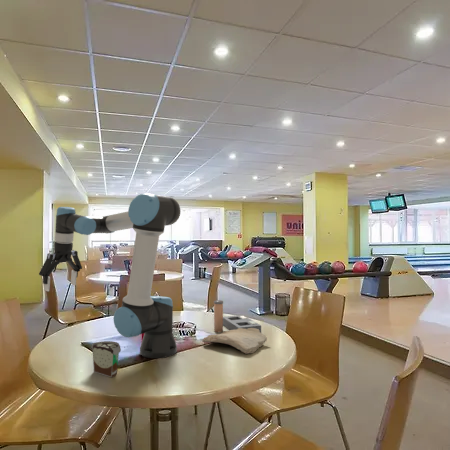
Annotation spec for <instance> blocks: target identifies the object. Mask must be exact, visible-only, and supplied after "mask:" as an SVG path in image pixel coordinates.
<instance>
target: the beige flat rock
mask: <svg viewBox="0 0 450 450" xmlns="http://www.w3.org/2000/svg"><path fill="white" fill-rule="evenodd" d="M267 340H268V338H267V336H266V335H265V334H263V333H262V332H261V333H260V331H259V329H255V328H248V329H243V328H238V329H236V330H229V329H228V330H225V331H224V330H223V331H222V332H220V333H218V334H209V335H208V336H206V337H204V338H203V339H202V340H201V341H202V343H220V344H225V345H229V346H231V347H233V348H235V349H237V350H239V351H241V353H244V354H253V353H255V352H256V351H257V350H258V349H259V347H260V348H261V347H262V346H263V345H264V344H265V343H266V342H267Z"/></svg>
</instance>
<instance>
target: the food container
mask: <svg viewBox="0 0 450 450" xmlns="http://www.w3.org/2000/svg"><path fill="white" fill-rule="evenodd" d="M91 350H92V360H93V361H92V362H93V373H96V374H99V375H102V376H106V377H108V378H109V377H110V378H114V377H115V376H116V375H117V373H118V367H119V366H118V365H119V353H121V351H122V349H121V345H120V343H119V342H117V341H111V340H110V341H109V340H104V341H95V342H93V343H92V345H91Z"/></svg>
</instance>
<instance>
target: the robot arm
mask: <svg viewBox="0 0 450 450" xmlns="http://www.w3.org/2000/svg"><path fill="white" fill-rule="evenodd" d="M180 215H181V206H180V204H179V202H178V201H177V200H176V199H174V198H173V197H171V196H167V195H166V196H165V195H161V194H160V195H157V194H153V193H141V194H138V195H136V196H135V197H134V198H133V199H132V200H131V202H130V204H129V207H128V211H124V212H118V213H113V214H108V215H104V216H97V215H96V216H93V215H82V214H81V215H80V214H76V209H75V207H71V206H59V207H58V208H57V209H56V214H55V227H54V228H55V231H54V233H55V234H54V243H53V251H54V253H47V255H46V259H45V261H44V263H43V265H42V267H41V269H40V271H39V273H38V276H41V277H42V278H43V279H42V284H43V291H46V292H50V287H51V286H50V285H51V273H52V272H53V271H54V269H55V268H56V267H57V266H58V265H60V264H62V263H68V265H69V266H70V267H71V269H72V270H71V273H70V277H71V278H70V284H71V285H72V286H76V285H77V278H78V277H79V276H78V275H79V272H80V271H81V270H83V266H82V264H81V261H80V259H79V255H78V252H79V251H77V250H74V249H73V247H74V245H73V244H74V236H75V235H74V234H75V233H76V234H79V235H84V236H91V235H92V234H112V233H115V232H118V231H122V230H123V231H124V230H129V229H133V230H134V232H135V240H134V246H133V254H132V260H131V267H130V274H129V282H128V288H127V295H125V296H124V297H122V300H121V301H122V303H121V307H119V308H117V309H116V310H115V312H114V314H113V324H114V327H115V329H116V330H117V332H118V334H119V335H121V336H123V337H124V338H129V339H130V338H134V337H138V336H140V335H143V338H142V340H141V342H140V343H141V344H140V346H139V355H140V356H141V355H142V356H141V357H144V358H149V359H161V358H167V357H170V356H173V355H175V354H176V353H177V352H178V345H177V342H176V338H175V336H174V331H173V329H174V328H173V326H174V325H173V323H174V322H173V319H174V316H173V315H174V314H173V313H174V309H173V308H174V305H173V304H174V303H173V299H172V298H171V297H168V296H161V295H151V294H152V289H153V288H152V287H153V283H154V282H153V281H154V274H155V268H156V267H155V266H156V260H157V259H156V258H157V254H158V246H159V242H160V241H159V240H160V239H159V238H160V236H161V235H162V234H164V232H165V227H166V226H171V225H174V224H175V223H176V222H177V221H178V220H179V218H180ZM71 257H72V258H71Z"/></svg>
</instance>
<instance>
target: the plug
mask: <svg viewBox="0 0 450 450" xmlns="http://www.w3.org/2000/svg"><path fill="white" fill-rule="evenodd" d="M213 306H214V307H213V309H214V310H213V319H214V320H213V321H214V322H213V331H214V332H215V333H223V332H224V325H223V317H224V301H223V300H221V299H219V300H218V299H217V300H213Z"/></svg>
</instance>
